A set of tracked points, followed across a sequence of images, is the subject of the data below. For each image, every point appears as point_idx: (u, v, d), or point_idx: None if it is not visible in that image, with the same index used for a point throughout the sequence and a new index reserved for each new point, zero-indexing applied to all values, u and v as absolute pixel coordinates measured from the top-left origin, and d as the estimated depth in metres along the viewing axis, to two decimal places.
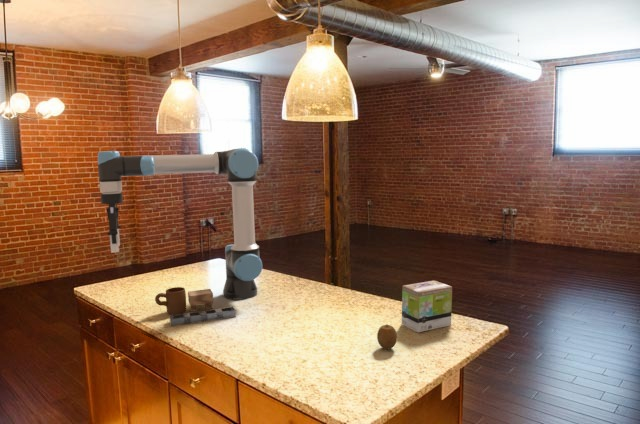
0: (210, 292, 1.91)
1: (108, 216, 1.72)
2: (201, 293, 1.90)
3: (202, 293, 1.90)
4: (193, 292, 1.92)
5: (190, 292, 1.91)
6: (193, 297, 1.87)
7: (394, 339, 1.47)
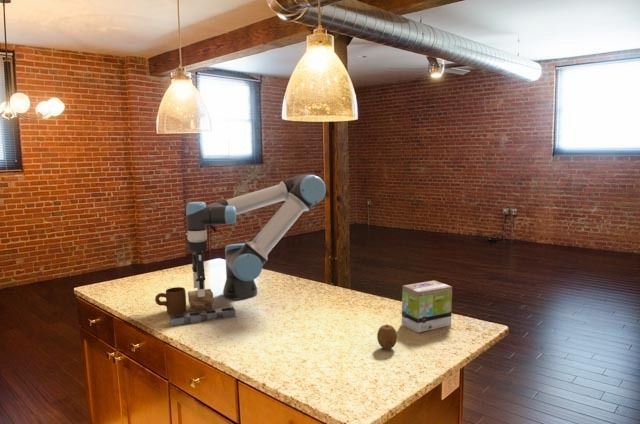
0: (210, 292, 1.91)
1: (195, 263, 1.86)
2: None
3: None
4: (193, 292, 1.92)
5: (190, 292, 1.91)
6: (193, 297, 1.87)
7: (394, 339, 1.47)
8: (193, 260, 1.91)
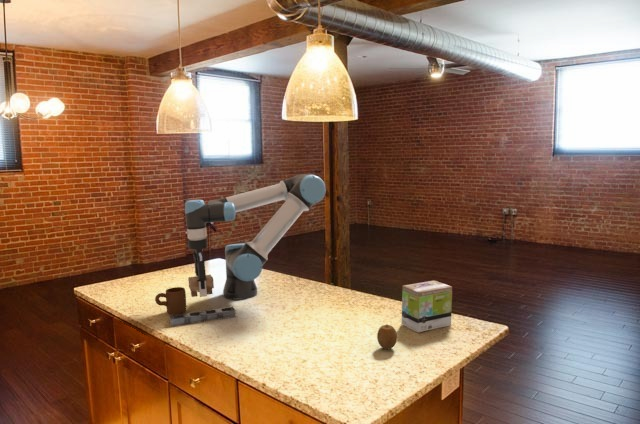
0: (211, 278, 1.90)
1: (196, 262, 1.87)
2: None
3: None
4: (193, 278, 1.91)
5: (190, 278, 1.91)
6: (193, 283, 1.87)
7: (394, 339, 1.47)
8: (194, 259, 1.91)
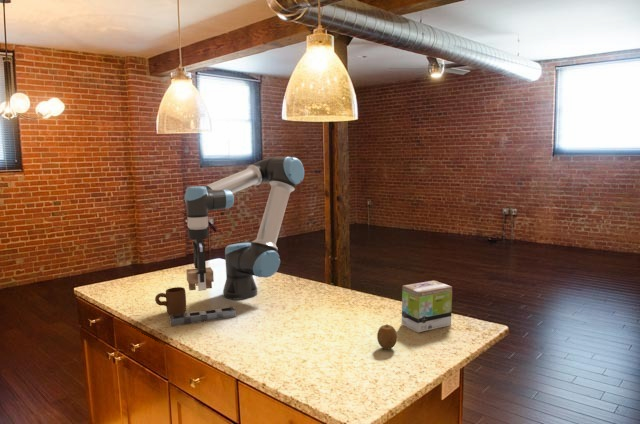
0: (210, 270, 1.76)
1: (196, 253, 1.74)
2: None
3: None
4: (192, 270, 1.78)
5: (189, 270, 1.77)
6: (191, 275, 1.73)
7: (394, 339, 1.47)
8: (194, 250, 1.77)
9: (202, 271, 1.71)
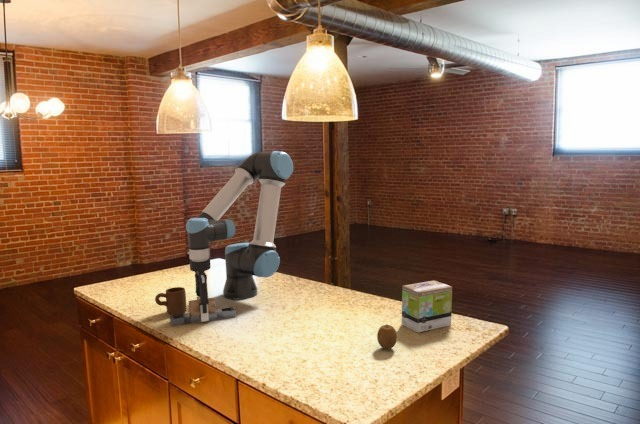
0: (212, 302, 1.78)
1: (198, 284, 1.75)
2: None
3: None
4: (194, 301, 1.79)
5: (191, 302, 1.79)
6: (194, 307, 1.75)
7: (394, 339, 1.47)
8: (196, 281, 1.79)
9: (205, 302, 1.71)
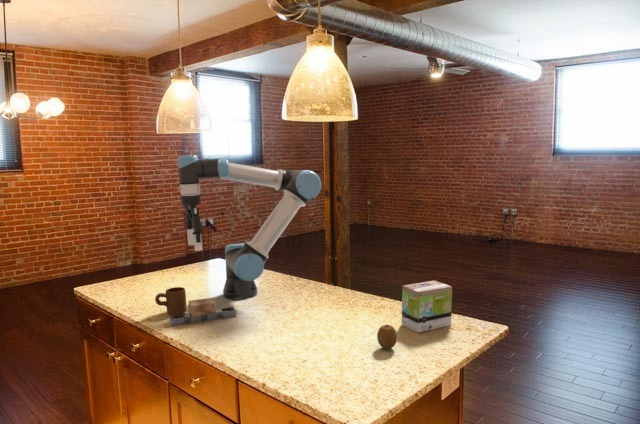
0: (212, 302, 1.78)
1: (190, 217, 1.83)
2: (202, 303, 1.77)
3: (204, 303, 1.78)
4: (194, 301, 1.79)
5: (191, 302, 1.79)
6: (194, 307, 1.75)
7: (394, 339, 1.47)
8: (187, 215, 1.88)
9: (198, 231, 1.78)
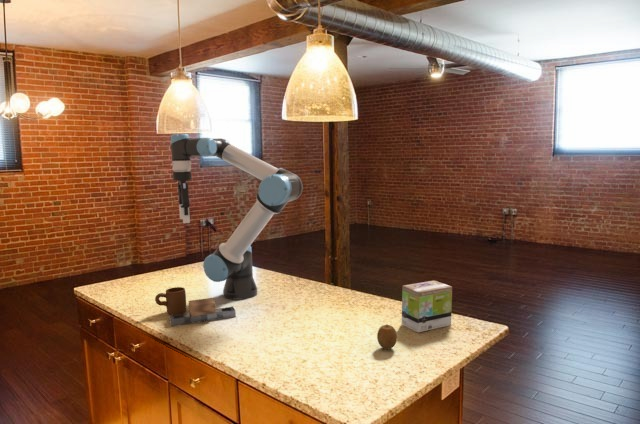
0: (212, 302, 1.78)
1: (180, 191, 1.95)
2: (202, 303, 1.77)
3: (204, 303, 1.78)
4: (194, 301, 1.79)
5: (191, 302, 1.79)
6: (194, 307, 1.75)
7: (394, 339, 1.47)
8: (178, 191, 2.01)
9: (186, 204, 1.91)
